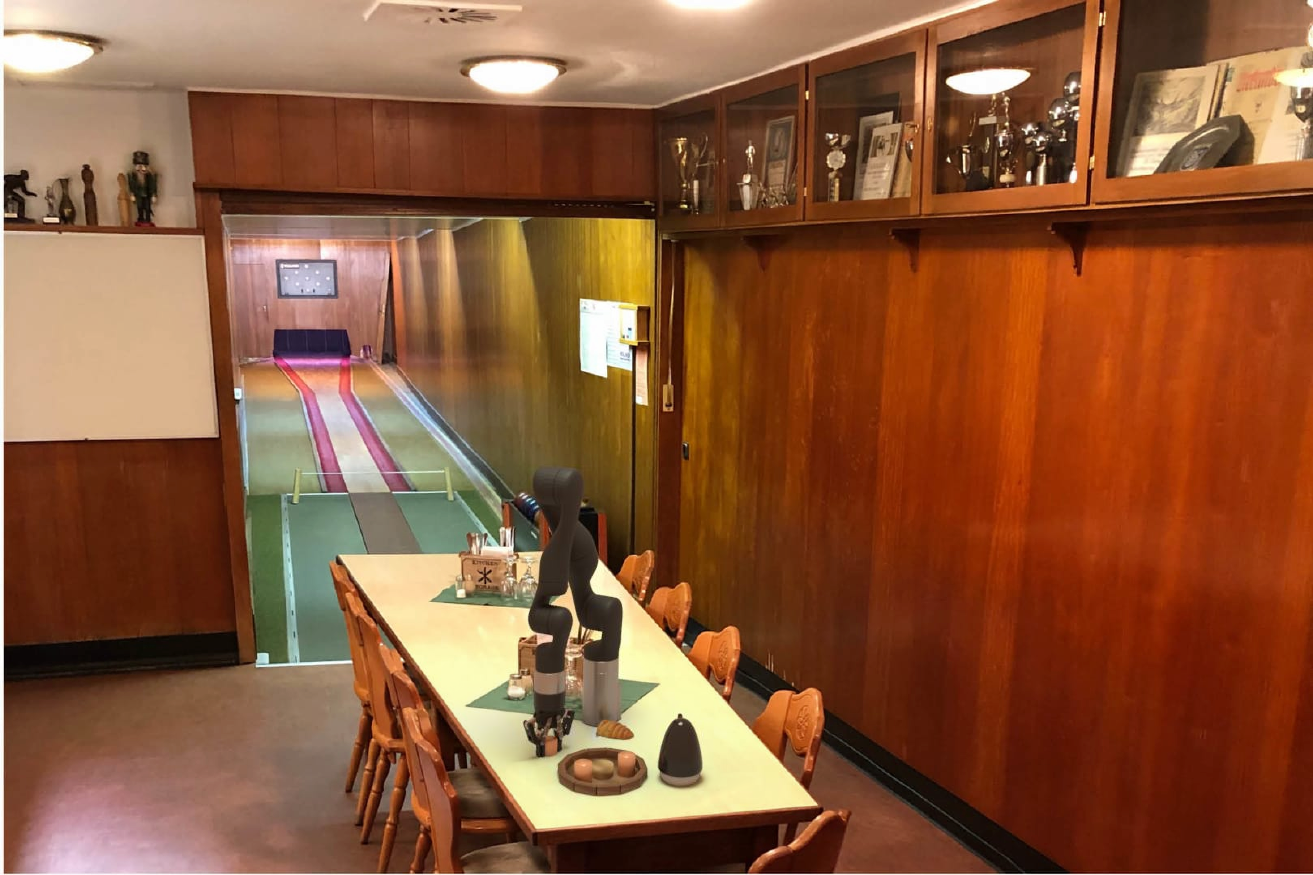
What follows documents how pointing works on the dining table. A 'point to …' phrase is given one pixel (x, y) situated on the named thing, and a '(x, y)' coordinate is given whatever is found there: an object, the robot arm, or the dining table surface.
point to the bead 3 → (626, 764)
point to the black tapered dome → (680, 754)
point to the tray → (601, 784)
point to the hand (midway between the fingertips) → (549, 755)
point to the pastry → (614, 730)
